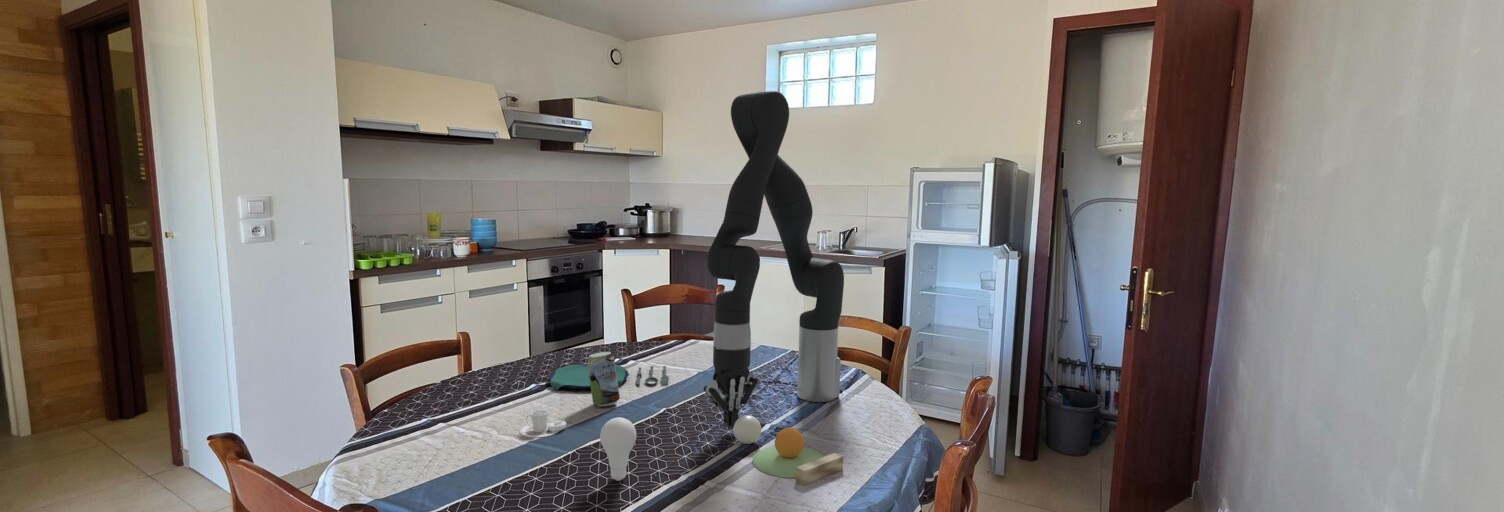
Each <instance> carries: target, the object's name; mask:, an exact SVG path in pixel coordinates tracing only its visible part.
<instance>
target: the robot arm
mask: <svg viewBox="0 0 1504 512" xmlns="http://www.w3.org/2000/svg"><path fill="white" fill-rule="evenodd" d="M730 118H731V123H732V125H733V129H734V131H735V133H736V135H737V137H738V140H739V142H740V144H741V146H742V147H743V149H744V151H745V153H746V155H747V157H748V160H747V162H746V163H745V165H744V167H743V168H742V170H740V172H739V173H738V175H737V176H736V178H735V179H734V182H733V183H732V185H731V186H730V187H731V188H730V190H729V194H728V197H727V202H726V208H725V212H724V217H723V221H722V224H721V225H720V226H719V229H718V231H717V233H716V235H715V237H714V239H713V241H712V244H711V246H710V248H709V251H708V254H707V257H706V266H707V270H708V272H709V274H710V275H711V276H712V277H713V278H716V279H719V280H726V281H727V280H728V281H735V282H734V286H733V288H732V290H725V291H720V292H719V293H717V294H716V296H715V302H714V303H715V304H714V326H713V327H714V328H713V340H712V341H713V343H712V344H713V346H712V347H713V348H712V349H713V350H712V351H713V353H712V357H713V358H712V365H713V368H714V373H713V375H712V381H711V382H710V384H709V385H705V386H703V391H704V393H705V394H706V395H707V397H708V398H709V400H710V401H711V402H712V403H713V405H714V406H715V407H717V408H719V409H722V410H723V413H722V415H723V418H722V419H723V420H722V422H723V425H725V427H727V428H730V429H732V428H734V424H735V422H736V421H737V419H738V418H739V412H740V411H739V409H740V408H741V406H743V405H746V404H747V402H748V400H749V399H750V397H751V395H752V393H753V392H754V390H755V388H756V386H757V385H758V382H759V379H758V378H757V377H754V376H752V375H751V374H750V372H751V371H750V365H751V341H752V339H751V335H752V334H751V333H752V331H751V324H750V323H751V301H752V297H753V294H754V293H753V292H754V288H755V285H756V282H757V278H758V275H759V272H760V267H761V261H760V256H759V253H758V252H757V250H756V249H755V248H754V247H752V246H749V245H740V244H737V243H738V242H739V241H740V239H742V238H745V237H749V236H750V237H751V236H753V235H755V234H756V233H757V230H758V228H759V225H760V224H759V222H760V219H761V212H762V208H763V201H764V198H765V202H766V205H767V206H768V209H769V213H770V215H771V217H772V219H773V221H774V224H775V226H776V229H777V232H778V234H779V238H780V240H781V244H782V246H783V250H784V253H785V256H786V260H787V264H788V268H789V272H790V276H791V278H792V279H791V280H792V282H793V285H794V287H795V288H796V291H798V293H800V294H801V295H803V296H806V297H811V298H815V299H816V301H815V307H814V309H810V310H807V311H806V310H805V311H803V312H802V313H801V314H800V315H799V319H798V320H799V325H798V326H799V327H798V329H799V330H798V359H797V361H798V362H797V363H798V365H797V366H798V367H797V387H796V389H797V393H796V394H797V397H798V398H799V399H801V400H804V401H807V402H813V403H826V402H830V401H834V400H835V399H837V397H838V398H840V392H841V391H840V386H841V384H840V383H841V363H842V362H841V358H840V357H838V348H839V347H838V346H839V345H838V343H839V323H840V322H839V321H840V318H841V316H842V311H843V309H842V308H843V297H844V288H845V287H844V285H845V274H844V270H843V267H842V265H841V264H840V263H839V262H838V261H837V260H832V259H825V258H824V259H823V258H817V257H816V256H814V255H813V253H812V251H811V248H810V245H809V241H808V234H809V229H810V227H811V222H812V219H813V205H812V202H811V198H810V195H809V193H808V189H807V187H806V185H805V182H804V180H803V179H802V178H801V177H800V176H799V174H798V173H797V172H796V171H795V170H794V169H793V168H792V167H791V166H790V165H789V164H788V163H787V162H786V161H785V160H784V159H783V158H782V157H781V156H780V155H779V152H780V148H781V146H782V143H783V141H784V137H785V134H786V133H787V132H786V131H787V128H788V125H789V120H790V108H789V103H788V101H787V98H786V97H785V95H783V93H781V92H780V91H778V90H765V91H758V92H750V93H744V94H739V95H737V96H736V97H735V98H734V99H733V101H732V102H731V106H730Z"/></svg>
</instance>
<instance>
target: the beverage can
mask: <svg viewBox="0 0 1504 512" xmlns="http://www.w3.org/2000/svg"><path fill="white" fill-rule="evenodd" d="M615 361H616V359H615V357H614V355H613V354H612V353H611V351H600V352H595V353H592V354H590V355H589V356H588V359H587V363H586V364H588V371H589V379H590V386H591V388H590V391H591V399H592V404H594V405H596V406H597V407H599V408H600V407H601V408H602V407H608V406H612V405H615V404H616V403H617V402H618V401H619V400H620V391H619V385H618V382H617V374H616V367H615V365H616V362H615Z"/></svg>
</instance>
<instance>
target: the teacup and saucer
mask: <svg viewBox="0 0 1504 512" xmlns="http://www.w3.org/2000/svg"><path fill="white" fill-rule="evenodd" d="M528 417H531V420H532V421H531V423H530V422H529V420H528ZM525 421H526V423H527V424H528V425H526V426H523V427H522V428H521V429H520V430H519V434H520V435H521V436H523V437H526V438H532V439H534V438H538V439H539V438H545V437H550V436H553V435H556V434H557V433H559V432H560V431H562V430H564V429H565V428H566V426H567V422H566V421H565V420H557V421H553V422H548V411H547V410H536V411H533V412H531V414H530V413H529V414H527V416H526V417H525ZM531 428H532V429H533V431H534V432H535V433H543V432H545V431H547V429H548V431H549V432H550V433H545V434H542V435H533V434H532V435H531V434H529V433H527V432H526V431H527V430H528V429H531Z"/></svg>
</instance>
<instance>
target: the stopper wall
mask: <svg viewBox="0 0 1504 512" xmlns="http://www.w3.org/2000/svg"><path fill="white" fill-rule="evenodd" d="M824 456H825V457H822V458H820V459H817V460H814V461H812V462H809V463H806V464H804V465H801V466H798V467H796V478H795V482H797V483H798V484H800V485H803V486H805V485H808V484H810V483H812V482H815V481H817V480H821V479H823V478H824V477H828V476H830V475H833V474H835V473H837V472H840V471H843V469H844V467H843V466H844V455H841V454H839V453H837V452H833V453H831V454H827V455H824Z"/></svg>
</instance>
